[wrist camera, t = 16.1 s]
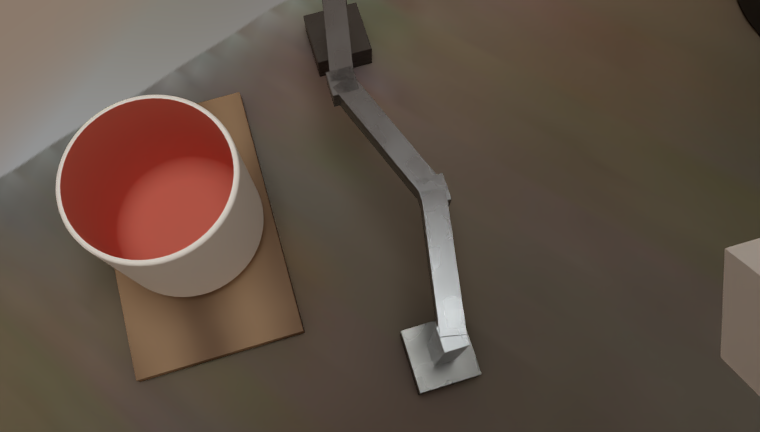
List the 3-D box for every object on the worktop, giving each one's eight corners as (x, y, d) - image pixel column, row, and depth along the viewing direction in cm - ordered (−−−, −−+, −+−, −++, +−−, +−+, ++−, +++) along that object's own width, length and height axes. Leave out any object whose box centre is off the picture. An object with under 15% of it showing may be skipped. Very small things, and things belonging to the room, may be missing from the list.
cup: (88, 241, 48) (15, 192, 38) (187, 133, 50) (142, 61, 40) (199, 331, 46) (152, 303, 36) (296, 214, 48) (276, 160, 39)
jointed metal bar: (360, 17, 54) (357, -71, 45) (481, 375, 46) (507, 359, 36) (302, 32, 53) (286, -53, 44) (413, 396, 45) (423, 385, 36)
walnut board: (241, 97, 52) (239, 92, 51) (304, 332, 47) (303, 330, 46) (92, 136, 51) (88, 132, 50) (140, 381, 46) (136, 380, 45)
